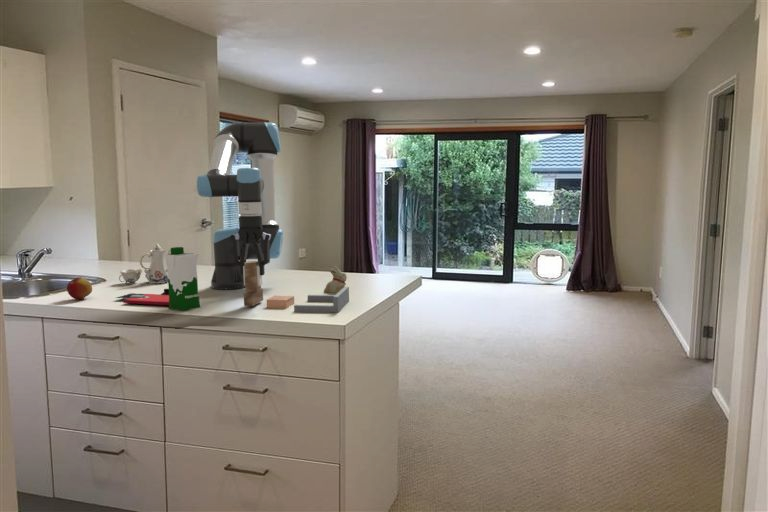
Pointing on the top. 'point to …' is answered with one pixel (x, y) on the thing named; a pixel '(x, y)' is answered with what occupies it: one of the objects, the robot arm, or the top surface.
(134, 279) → the chinaware
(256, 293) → the stepped wooden beam
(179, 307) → the milk carton
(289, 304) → the salmon square block
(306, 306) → the frame
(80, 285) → the apple
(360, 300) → the top surface
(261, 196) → the robot arm
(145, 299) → the red board with handle
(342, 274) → the tan bunny-shaped figure
